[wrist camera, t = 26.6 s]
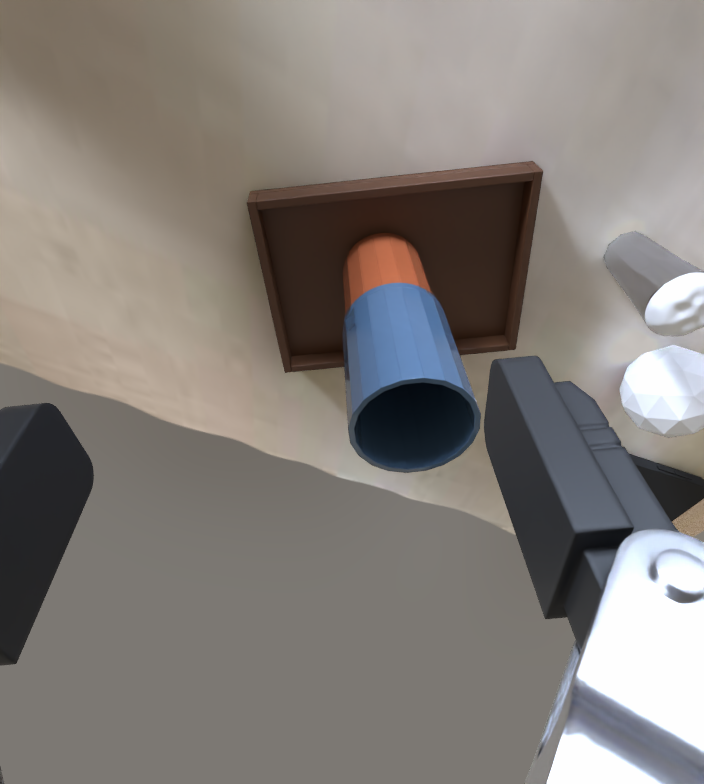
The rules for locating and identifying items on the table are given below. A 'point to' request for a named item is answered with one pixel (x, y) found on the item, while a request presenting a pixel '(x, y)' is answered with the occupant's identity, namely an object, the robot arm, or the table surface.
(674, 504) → the smart home device
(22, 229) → the table surface
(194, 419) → the table surface
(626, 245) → the milkshake
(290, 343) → the tray
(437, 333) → the glass
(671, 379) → the geometric ball
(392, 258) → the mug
